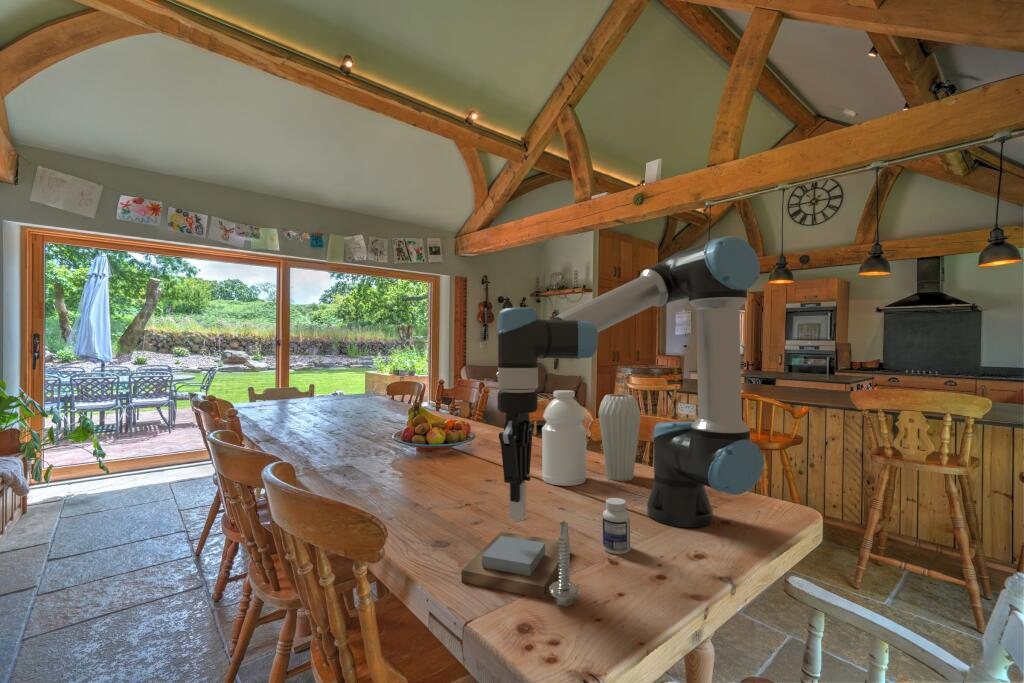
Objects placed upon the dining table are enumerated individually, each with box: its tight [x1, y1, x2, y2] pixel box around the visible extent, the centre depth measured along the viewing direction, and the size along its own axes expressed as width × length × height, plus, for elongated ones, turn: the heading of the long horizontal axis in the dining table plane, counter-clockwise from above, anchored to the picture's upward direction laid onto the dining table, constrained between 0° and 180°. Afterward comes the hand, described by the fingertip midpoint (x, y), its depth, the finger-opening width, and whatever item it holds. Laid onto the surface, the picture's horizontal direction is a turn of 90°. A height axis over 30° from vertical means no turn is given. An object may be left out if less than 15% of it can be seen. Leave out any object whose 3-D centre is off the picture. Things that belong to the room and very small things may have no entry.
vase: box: [598, 393, 642, 482], centre depth 143 cm, size 13×13×26 cm
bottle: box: [541, 389, 587, 487], centre depth 140 cm, size 14×14×28 cm
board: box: [461, 531, 571, 600], centre depth 83 cm, size 15×18×2 cm
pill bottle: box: [602, 497, 631, 555], centre depth 91 cm, size 5×5×10 cm
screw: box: [548, 520, 580, 608], centre depth 71 cm, size 13×5×5 cm
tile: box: [482, 536, 545, 576], centre depth 81 cm, size 9×2×9 cm
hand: (517, 517), depth 83 cm, fingers closed
